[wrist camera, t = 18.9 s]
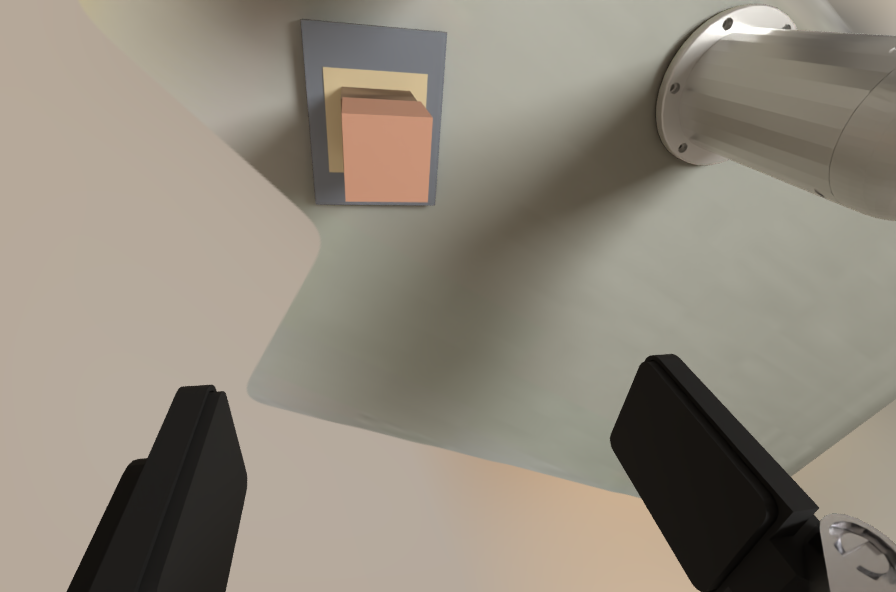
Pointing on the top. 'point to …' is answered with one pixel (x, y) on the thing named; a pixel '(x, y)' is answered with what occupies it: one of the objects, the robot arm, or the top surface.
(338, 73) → the board
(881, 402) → the top surface
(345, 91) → the walnut block
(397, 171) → the terracotta block
